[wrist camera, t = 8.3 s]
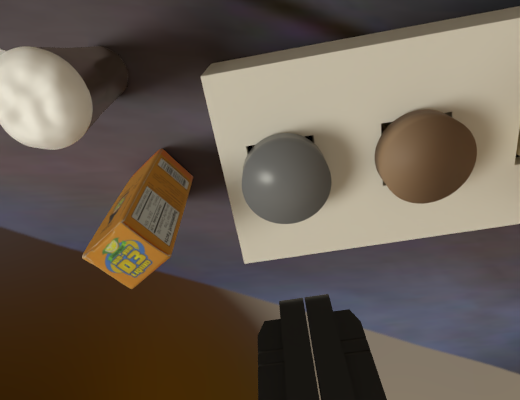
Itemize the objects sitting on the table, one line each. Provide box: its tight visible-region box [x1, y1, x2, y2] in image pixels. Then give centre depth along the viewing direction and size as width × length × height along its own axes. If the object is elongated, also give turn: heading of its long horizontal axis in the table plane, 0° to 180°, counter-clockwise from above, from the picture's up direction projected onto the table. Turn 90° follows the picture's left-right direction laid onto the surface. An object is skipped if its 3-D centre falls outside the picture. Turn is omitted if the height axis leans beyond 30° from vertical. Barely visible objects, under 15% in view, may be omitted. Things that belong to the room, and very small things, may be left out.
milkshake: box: [0, 46, 128, 150], centre depth 20 cm, size 4×5×10 cm
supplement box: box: [83, 149, 193, 289], centre depth 23 cm, size 3×3×10 cm
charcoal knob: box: [242, 133, 332, 224], centre depth 23 cm, size 5×5×6 cm
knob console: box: [200, 6, 520, 264], centre depth 24 cm, size 22×12×5 cm, turn 100°
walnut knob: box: [375, 109, 477, 204], centre depth 23 cm, size 5×5×6 cm
